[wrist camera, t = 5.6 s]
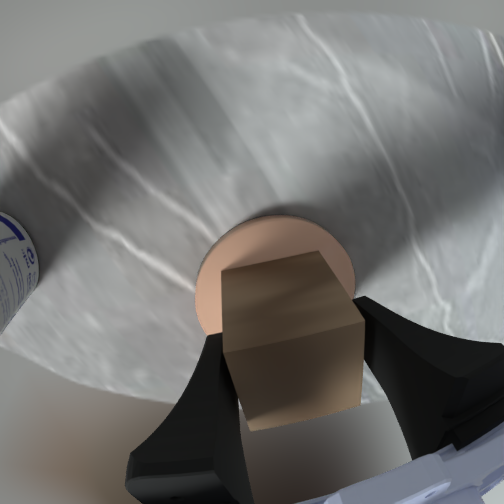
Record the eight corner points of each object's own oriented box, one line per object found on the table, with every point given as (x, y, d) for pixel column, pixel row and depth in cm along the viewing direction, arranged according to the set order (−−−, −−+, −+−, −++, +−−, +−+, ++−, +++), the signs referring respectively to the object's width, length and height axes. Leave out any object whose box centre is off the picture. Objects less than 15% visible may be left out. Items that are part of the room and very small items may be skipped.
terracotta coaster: (342, 199, 15) (350, 205, 14) (349, 329, 18) (355, 339, 17) (176, 236, 15) (174, 245, 14) (217, 362, 18) (218, 374, 17)
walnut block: (318, 250, 15) (365, 320, 10) (325, 327, 16) (360, 405, 11) (220, 271, 15) (222, 352, 10) (241, 345, 16) (250, 431, 11)
